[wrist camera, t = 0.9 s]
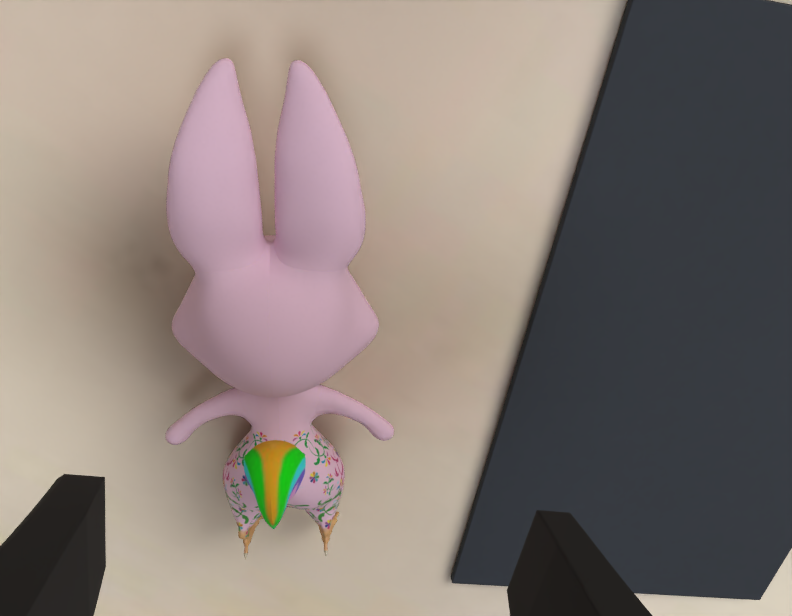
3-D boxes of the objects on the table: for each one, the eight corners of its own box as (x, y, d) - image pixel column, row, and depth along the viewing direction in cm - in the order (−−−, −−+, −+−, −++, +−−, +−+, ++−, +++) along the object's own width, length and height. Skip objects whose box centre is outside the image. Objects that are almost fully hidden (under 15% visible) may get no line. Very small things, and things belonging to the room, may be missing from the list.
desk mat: (755, 593, 29) (760, 600, 28) (450, 576, 27) (451, 583, 27) (1078, 60, 19) (1089, 63, 19) (635, -25, 17) (640, -24, 17)
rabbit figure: (381, 471, 26) (413, 33, 16) (394, 642, 21) (448, 171, 12) (195, 476, 25) (114, 23, 16) (166, 652, 21) (28, 165, 11)
